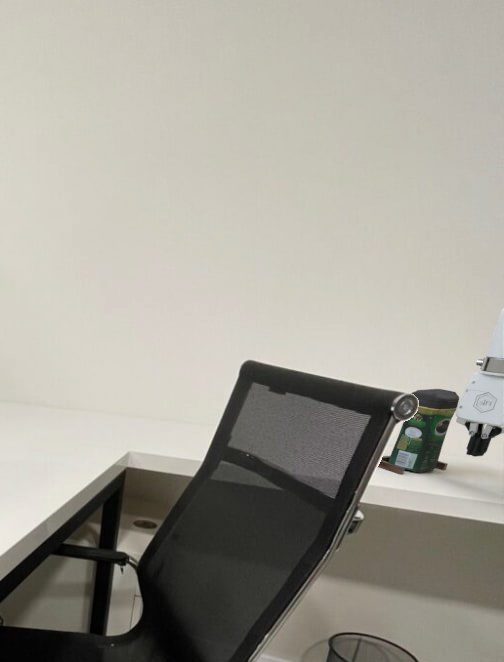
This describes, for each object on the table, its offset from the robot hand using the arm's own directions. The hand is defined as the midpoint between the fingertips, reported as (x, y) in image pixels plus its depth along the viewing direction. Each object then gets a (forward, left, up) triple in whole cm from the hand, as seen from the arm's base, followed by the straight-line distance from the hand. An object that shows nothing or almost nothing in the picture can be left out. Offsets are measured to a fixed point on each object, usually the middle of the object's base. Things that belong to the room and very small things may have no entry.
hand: (474, 455), depth 118 cm
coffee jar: (+12, 0, -7) cm, 14 cm away
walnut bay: (+13, 0, -7) cm, 14 cm away
